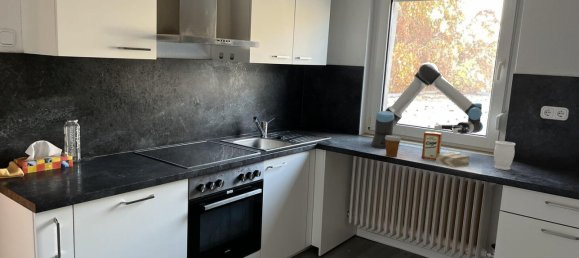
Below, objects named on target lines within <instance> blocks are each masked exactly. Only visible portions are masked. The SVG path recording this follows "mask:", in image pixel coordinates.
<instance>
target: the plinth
mask: <svg viewBox="0 0 579 258" xmlns="http://www.w3.org/2000/svg"><path fill="white" fill-rule="evenodd" d="M470 158H471V157H470V156H469V155H466V154H461V153H455V152H452V151H451V152H442V153H441V152H440V154H437V157H436V160H435V163H436V164H440V165H445V166H449V167H453V168H455V167H456V168H457V167H463V166H469V163H470Z"/></svg>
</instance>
